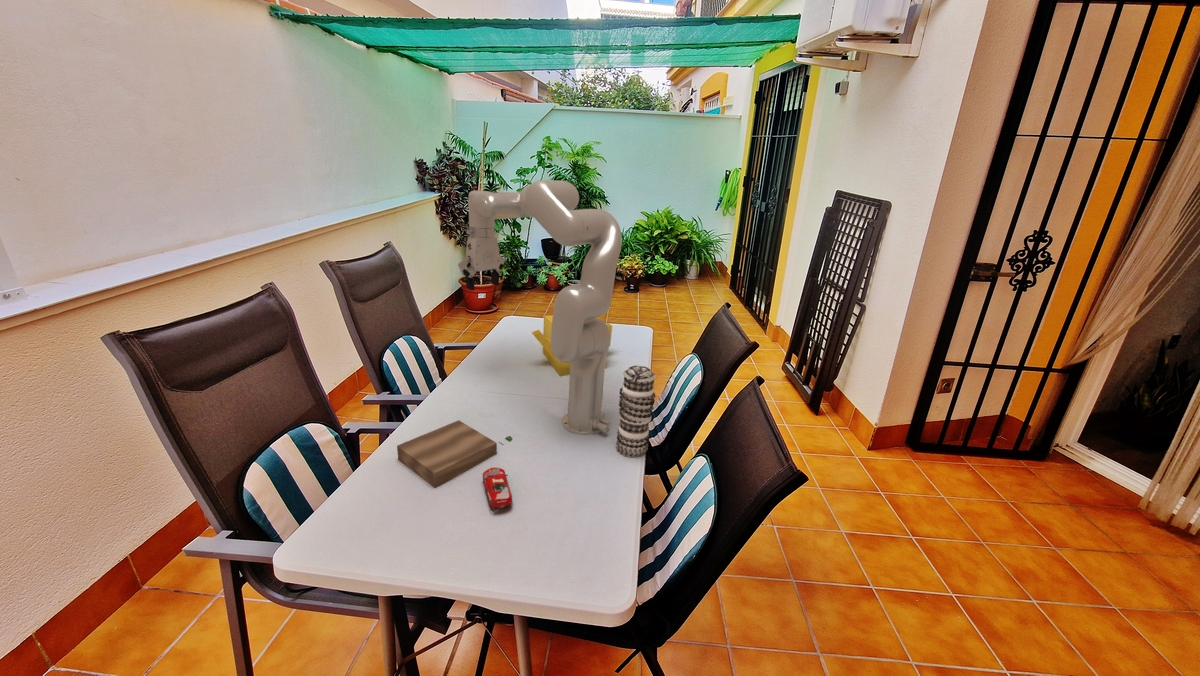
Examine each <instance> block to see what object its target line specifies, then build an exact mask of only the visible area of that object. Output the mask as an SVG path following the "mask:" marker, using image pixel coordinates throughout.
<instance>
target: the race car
mask: <svg viewBox="0 0 1200 676" xmlns="http://www.w3.org/2000/svg"><path fill="white" fill-rule="evenodd" d="M482 481H483V486H484V489H485V493H486V497H487V500H488V501H487V502H488V506H489V507H490V508H491V509H492V510H495V511H496V510H500V509H501V510H502V509H506V508H509V507H511V506H512V505H513V494H512V491H511V488H510V484H509V481H508V474H507V473H506V471H505V470H504V469H503V468H500V467H490V468H487V469H486V470H485V471H483V473H482Z"/></svg>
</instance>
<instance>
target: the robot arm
mask: <svg viewBox="0 0 1200 676" xmlns="http://www.w3.org/2000/svg"><path fill="white" fill-rule="evenodd" d="M579 201H580V195H579V191H578V190H577V188H576V186H575V185H574V184H572V183H571V182H569V181H566V180H561V179H560V180H547V179H545V180H543V179H541V180H540V179H539V180H536V181H533V182H531V184H529V185H526V186H524V187H523V188H522V189H521V191H514V192H511V191H510V192H509V191H508V192H507V191H506V192H504V191H503V192H491V191H487V190H471V191H470V192H469V193H468V226H469V227H468V229H467V230H466V234H467V235H469V236H468V237H467V241H466V248H465V249H466V250H465V258H464V259H463V260H462V261H460V262H459V263H458V265H457V267H458V268H459V270H460V272H461V274H462V275H463V276H464V277H465V288H466V289H467V290H470V291H474V290H475V278H474V275H475V273H476V272H485V271H491V272H490V283H491V284H492V285H493V286H500V273H501V272H502V269H503V267H504V264H505V262H506V258H505V257H503V256H501V254H500V247H499V242H498V238H497V236H495V220H507V219H520V218H534V220H536V221H537V223H539V225H540V226H541V227H542V228H543V229H544V230H545V232H547V234H549V236H550V237H551V238H552V239H553V240H554V241H555V242H556V243H557V244H559V245H561V246H564V247H576V246H582V245H590V249H589V250H588V252H587V254H586V255H585V258H584V261H583V263H582V269H581V271H582V272H581V276H580V279H579V282H577V283H576V284H571V285H568V286H565V287H563V288H562V289H561V290H560V291H559V292H558V294H557V295H556V297H555V300H554V305H553V310H552V315H553V319H552V328H551V338H550V343H551V349H552V352H553V354H554V356H555V357H556V359H558V360H559V361H561V362H564V363H570V362H571V366H570V375H569V381H568V383H569V384H568V400H567V401H568V403H567V404H568V405H567V413H566V414H565V415H564V416H563V417H562V419H561V424H562V427H563V429H565V430H566V431H567V432H569V433H570V434H574V435H579V436H589V435H596V434H599V433H600V432H604V433H607V432H609V430H610V426H611V421H608V420H606V419H605V412H603V411H602V407H603V394H604V382H605V371H606V369H605V362H606V363H607V358H606V356H607V355H608V353H609V348H610V347H609V345H610V346H611V343H610V330H609V328H608V326H607V325H606V323H607V322H604V321H603V320H602V319H601V318H599V317H601V316H603V315H605V314H607V313H608V311H609V310H610V307H611V304H612V297H613V291H614V285H615V278H616V272H617V266H618V263H619V258H620V255H621V254H620V253H621V249H622V245H623V244H622V243H623V242H622V240H623V238H622V237H623V236H622V231H621V228H620V227H621V226H620V225H619V222H618V221H617V219H616V218H615V216H614V215H612V214H611V213H610V212H608V211H606V210H604V209H603V210H602V209H598V208H582V209H576V208H577V206H578V204H579Z"/></svg>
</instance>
